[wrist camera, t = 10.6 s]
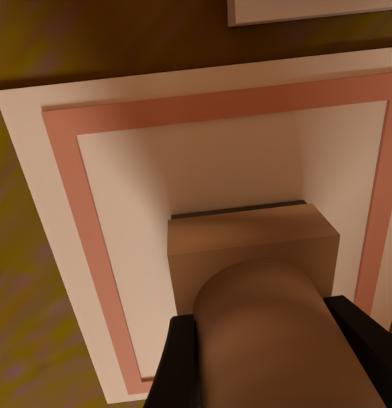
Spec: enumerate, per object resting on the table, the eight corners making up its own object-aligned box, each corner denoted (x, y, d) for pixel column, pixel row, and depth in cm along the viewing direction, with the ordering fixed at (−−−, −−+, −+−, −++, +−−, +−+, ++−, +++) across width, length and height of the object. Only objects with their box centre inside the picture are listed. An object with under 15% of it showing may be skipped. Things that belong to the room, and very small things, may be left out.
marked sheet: (108, 399, 16) (107, 407, 16) (-3, 90, 9) (-9, 91, 9) (377, 364, 16) (381, 371, 16) (455, 40, 10) (465, 40, 9)
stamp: (183, 314, 13) (193, 519, 8) (167, 213, 11) (164, 397, 5) (298, 299, 13) (393, 492, 8) (306, 196, 11) (451, 361, 5)
